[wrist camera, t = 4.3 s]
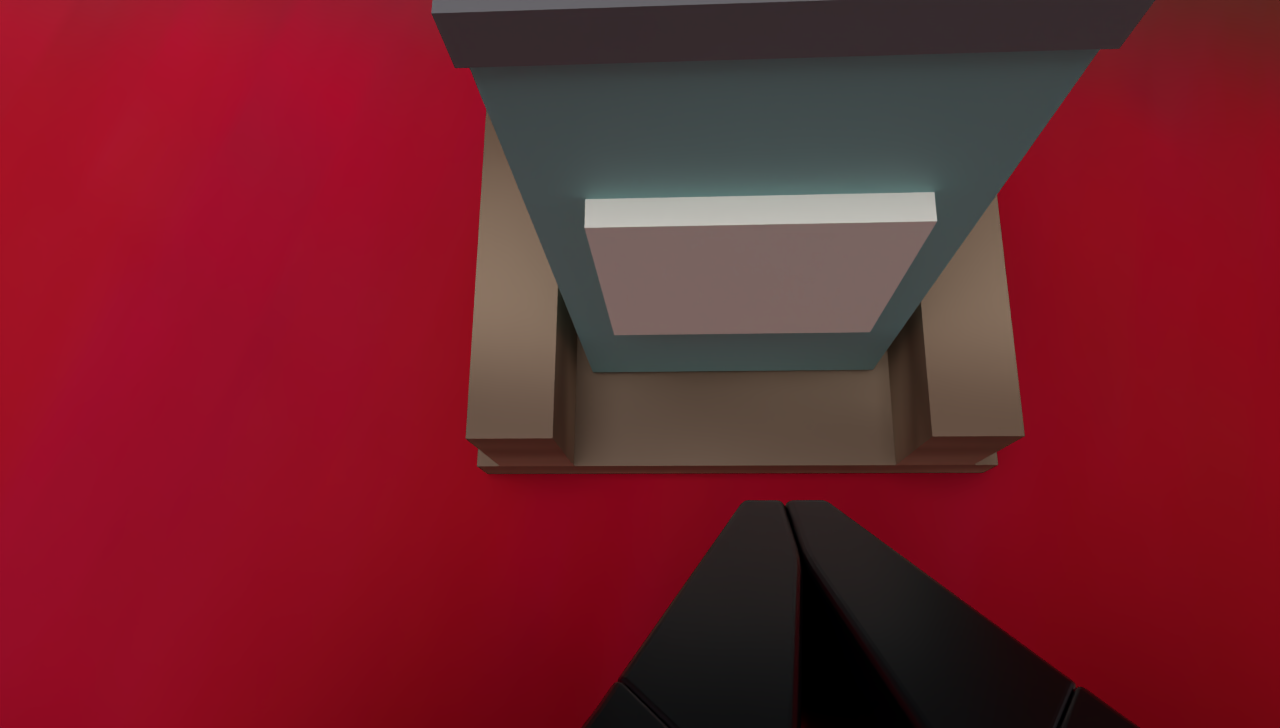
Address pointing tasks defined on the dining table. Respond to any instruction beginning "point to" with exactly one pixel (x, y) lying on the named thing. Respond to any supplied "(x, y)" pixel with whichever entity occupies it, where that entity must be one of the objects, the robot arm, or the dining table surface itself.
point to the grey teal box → (764, 157)
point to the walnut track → (732, 378)
